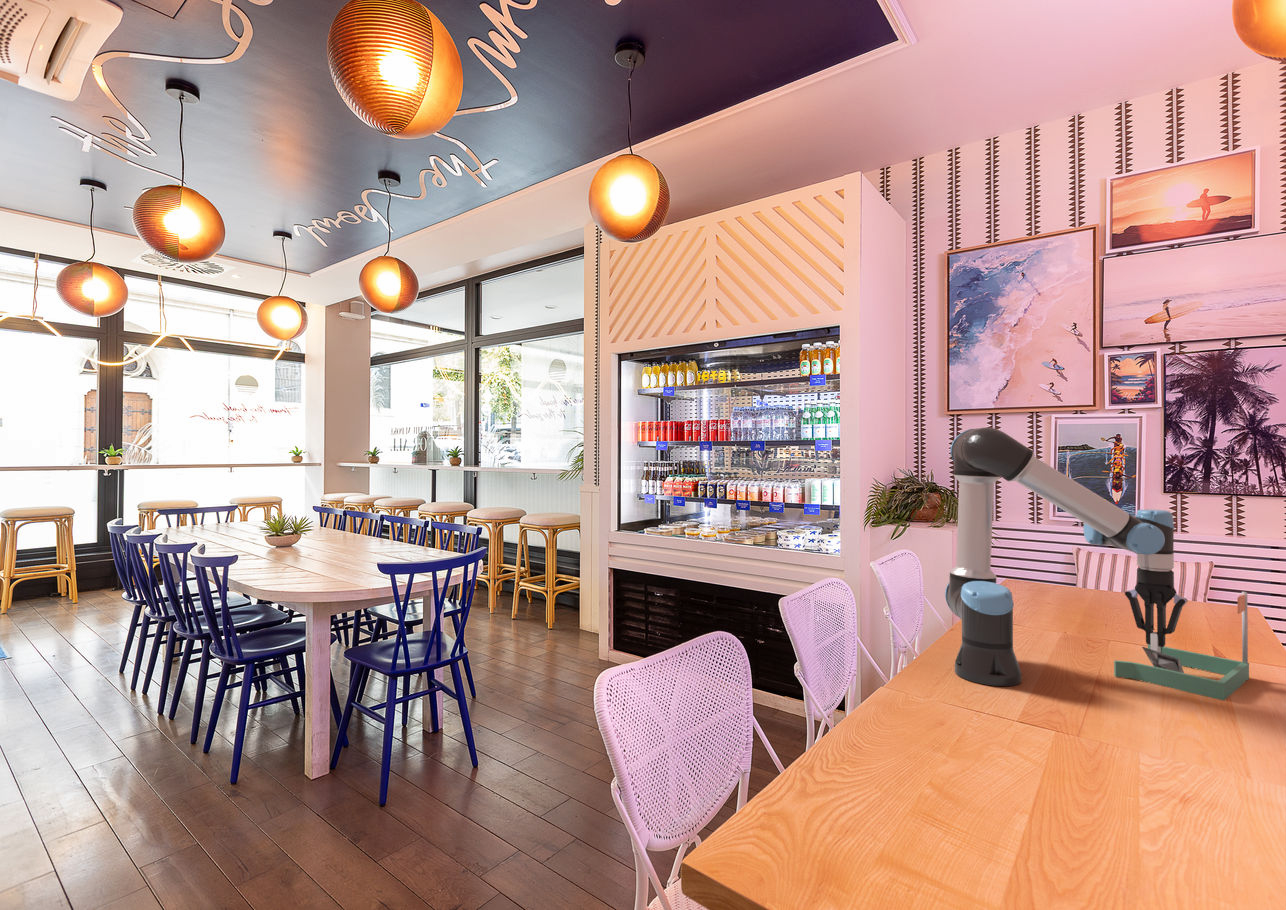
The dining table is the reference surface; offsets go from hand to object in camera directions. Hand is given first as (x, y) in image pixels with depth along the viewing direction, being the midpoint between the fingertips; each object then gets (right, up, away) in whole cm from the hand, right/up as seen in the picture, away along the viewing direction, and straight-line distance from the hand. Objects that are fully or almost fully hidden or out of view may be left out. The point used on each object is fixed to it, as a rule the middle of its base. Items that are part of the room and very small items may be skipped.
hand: (1155, 657), depth 163 cm
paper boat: (-1, -4, -4) cm, 6 cm away
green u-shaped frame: (+3, -4, -4) cm, 6 cm away
